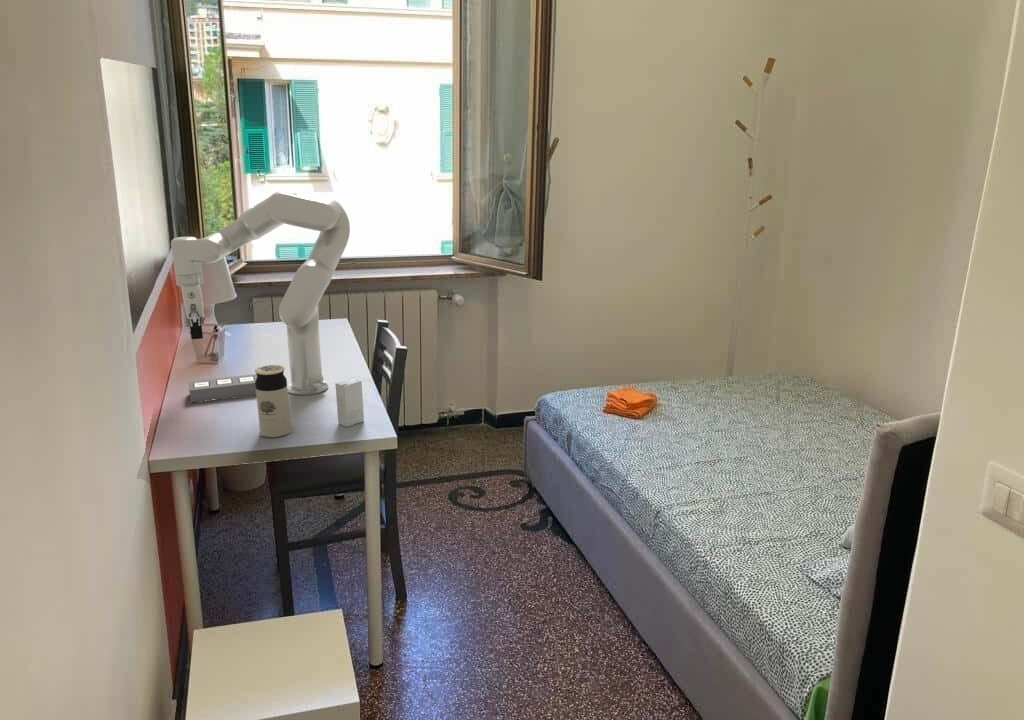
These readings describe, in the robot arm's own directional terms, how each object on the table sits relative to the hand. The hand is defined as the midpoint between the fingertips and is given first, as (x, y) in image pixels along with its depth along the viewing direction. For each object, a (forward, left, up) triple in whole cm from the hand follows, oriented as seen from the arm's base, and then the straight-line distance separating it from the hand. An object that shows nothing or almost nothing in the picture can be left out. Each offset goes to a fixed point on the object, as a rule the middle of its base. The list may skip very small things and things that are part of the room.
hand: (196, 334), depth 236 cm
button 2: (-10, -9, -17) cm, 22 cm away
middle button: (-7, -3, -17) cm, 19 cm away
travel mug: (-46, +3, -19) cm, 50 cm away
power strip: (-7, -3, -18) cm, 20 cm away
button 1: (-4, +3, -17) cm, 18 cm away
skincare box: (-55, -15, -19) cm, 60 cm away
